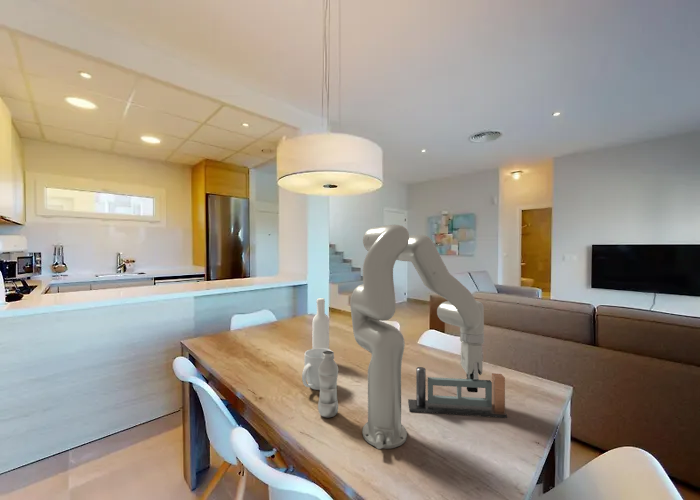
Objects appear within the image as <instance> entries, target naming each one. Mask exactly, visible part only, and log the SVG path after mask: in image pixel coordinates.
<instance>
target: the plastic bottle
mask: <svg viewBox="0 0 700 500" xmlns="http://www.w3.org/2000/svg"><path fill="white" fill-rule="evenodd" d="M322 359H323V361H322V362H321V364H320V365H319V368H318V373H319V380H320V390H319V397H318V398H319V399H318V403H317V409H318V414H319V415H320V416H321V417H323V418H333V417H335V416H336V415H337V414H338V412H339V402H338V400H339V399H338V393H337V385H338V377H339V367H338V364H337V363H336V361H335V352H334V351H333V350H331V351H324V352H323V353H322Z"/></svg>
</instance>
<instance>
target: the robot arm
mask: <svg viewBox="0 0 700 500" xmlns="http://www.w3.org/2000/svg"><path fill="white" fill-rule="evenodd" d="M362 243H363V246H364V248H365V250H367V253H366V256H365V257H364V260H363V265H362V279H363V282H362V284H359V285H357V286H356V287H355V288H354V289H353V291H352V294H351V296H350V314H351V323H352V332H353V336H354V340H355V342H356V344H358V345H359V347H361V348H363V349H364V350H365V351H368V352H369V353H370V354H371V359H370V361H369V364H368V367H367V421H366V422H365V424H364V425H363V426H362V430H361V431H362V437H363V439H364V441H366V442H367V443H368V444H369V445H371V446H374V447H375V448H376V449H378V450H382V449H394V448H398V447H400V446H402V445H403V444H404V443H406V441H407V439H408V438H407V437H408V432H407V428H406V427H405V426H404V424H402V364H403V355H404V351H405V338H404V336H403V333H402V332H401V331H400V330H399V329H398V328H397V327H396V326H394V325H391V324H389V323H387V322H385V321H389V320H390V319H392V318H393V317H394V316H395V314H396V310H397V307H396V306H397V305H396V295H395V294H396V293H395V285H394V267H395V263H396V262H397V261H398V262H399V261H401V262H410V263H412V266H413V267H414V269H415V270H416V272H417V274H418V276H419V278H420V279H421V281H422V284H423V285H424V286H425V287H426V288H427V289H429V290H430V291H431V292H433V293H435V294H436V295H438V296H440V297H441V298H444V300H446V301H442V302H441V303H440V304H439V305H438V306H437V309H436V315H437V318H439V320H440V321H441V322H443V323H445V324H448V325H451V326H456V327H458V328H459V341H460V342H461V343H460V365H461V367H462V369H463V370H464V373H466V379H474V380H480V379H479V375H480V376H481V375H482V374H483V367H484V366H483V349H482V345H483V344H485V314H484V313H485V305H484V304H483V302H481V301H479V300H476V299H475V297H474V295H473V294H472V292H471V291H470V290H469V289H468V288H467V287H466V286H465V285H463V284H462V282H461V281H459V280H458V279H457V277H455V276H453V275H452V274H451V273H450V272H449V270H448V268H447V266H446V264H445V263H444V260H443V258H442V256H441V255H440V253H439V251H438V248H437V247H436V245H435V243H434V242H433V240H432V239H431V238H430V237H429V236H427V235H424V234H412V235H411V234H410V233H409V231H408V229H407V228H406V227H405V226H403V225H400V224H388V225H386V224H385V225H382V226H381V225H380V226H374V227H371V228H369V229H367V230H366V231H365V232H364V235H363V238H362ZM478 389H479V388H473V387H466V391H467V393H478Z"/></svg>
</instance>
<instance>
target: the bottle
mask: <svg viewBox="0 0 700 500" xmlns="http://www.w3.org/2000/svg"><path fill="white" fill-rule="evenodd" d="M325 302H326V301H325V298H323V297H321V298H320V297H318V298H317V299H316V314H315V315H314V316H313V319H312V321H311V322H312V323H311V325H312V330H311V331H312V334H311V335H312V337H311V338H312V339H311V340H312V341H311V342H312V344H311V345H312V348H311V349H314V348H326V349H330V319H329V316H328V315H326V313H325V311H326V310H325V307H326V306H325V304H326V303H325Z"/></svg>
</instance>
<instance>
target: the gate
mask: <svg viewBox="0 0 700 500" xmlns="http://www.w3.org/2000/svg"><path fill="white" fill-rule="evenodd" d="M434 386H435V387H436V386H438V387H440V386H441V387H456V396H451V395H436V394H435V395H434ZM467 387H473V388H478V389H484V390H485V397H469V396H468V397H467V396H462V388H467ZM427 400H428V403H434V404H450V405H466V406H483V407H492V380H491V379H479V380H474V379H467V378H453V377H452V378H451V377H450V378H449V377H434V376H433V377H431V376H428V377H427Z"/></svg>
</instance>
